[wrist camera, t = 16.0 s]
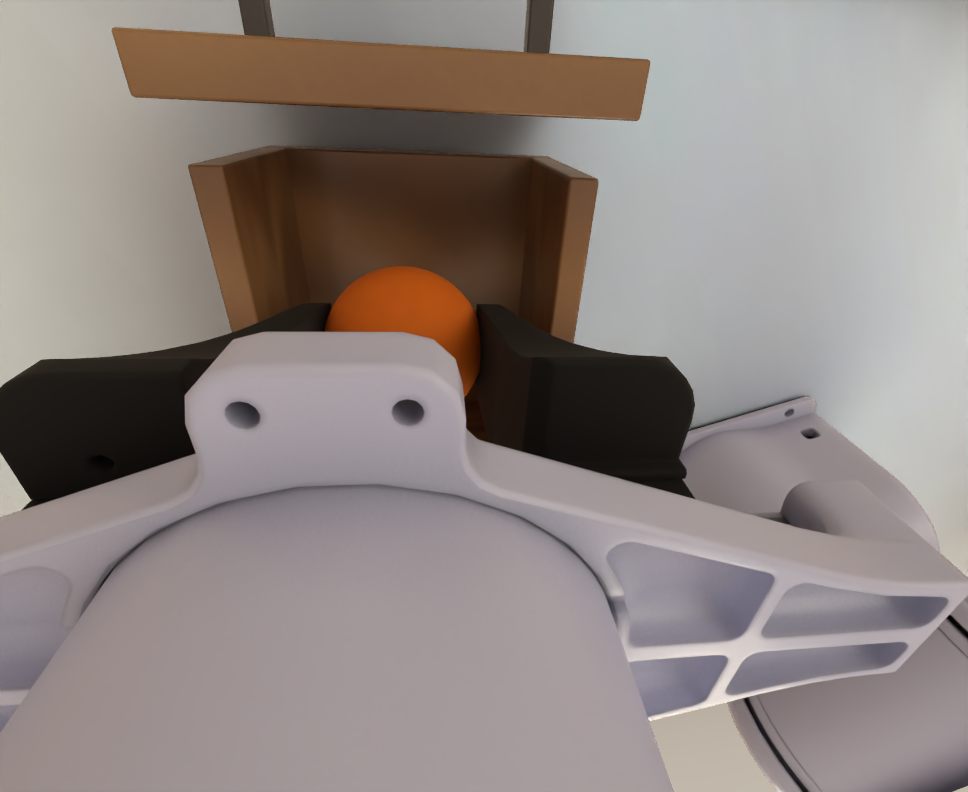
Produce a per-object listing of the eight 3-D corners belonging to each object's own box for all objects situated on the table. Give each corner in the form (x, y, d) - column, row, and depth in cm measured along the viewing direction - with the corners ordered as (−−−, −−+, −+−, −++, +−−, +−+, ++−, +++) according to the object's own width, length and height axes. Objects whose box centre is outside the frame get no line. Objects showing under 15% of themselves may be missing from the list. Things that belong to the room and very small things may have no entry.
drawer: (188, -168, 13) (-22, -401, 7) (599, -127, 14) (719, -297, 8) (301, 405, 22) (255, 509, 16) (536, 401, 23) (569, 498, 18)
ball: (312, 275, 13) (268, 337, 10) (449, 226, 13) (455, 272, 9) (374, 392, 16) (357, 476, 12) (493, 353, 15) (511, 428, 12)
